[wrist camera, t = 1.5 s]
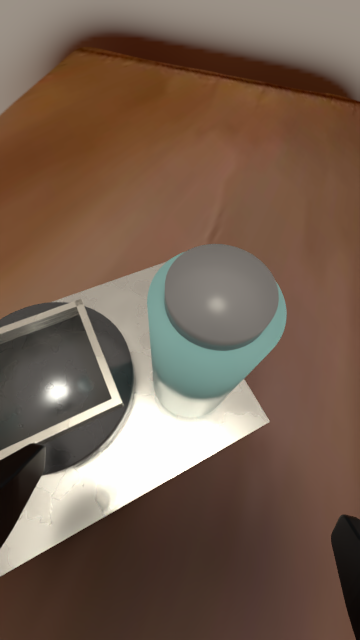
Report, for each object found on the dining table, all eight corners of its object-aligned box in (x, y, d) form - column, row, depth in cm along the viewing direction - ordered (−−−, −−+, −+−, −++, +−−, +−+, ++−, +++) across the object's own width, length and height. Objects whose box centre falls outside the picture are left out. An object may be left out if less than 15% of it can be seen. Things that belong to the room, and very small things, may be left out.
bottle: (239, 397, 22) (328, 320, 10) (173, 432, 20) (190, 388, 9) (203, 335, 24) (244, 216, 13) (141, 363, 23) (122, 256, 11)
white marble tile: (265, 423, 22) (289, 414, 18) (-40, 598, 16) (-109, 643, 12) (171, 266, 29) (173, 232, 24) (-69, 351, 23) (-120, 326, 19)
